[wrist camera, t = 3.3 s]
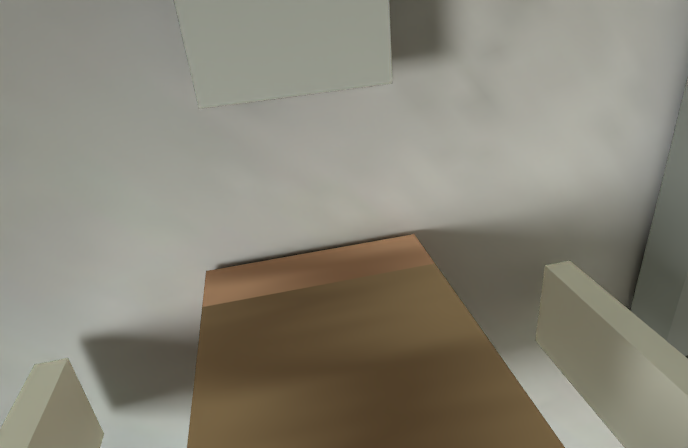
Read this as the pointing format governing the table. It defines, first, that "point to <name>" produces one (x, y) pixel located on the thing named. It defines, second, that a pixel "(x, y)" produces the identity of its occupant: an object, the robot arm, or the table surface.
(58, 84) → the table surface
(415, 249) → the sleeve
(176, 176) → the table surface
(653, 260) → the pinboard
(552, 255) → the table surface
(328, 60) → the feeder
